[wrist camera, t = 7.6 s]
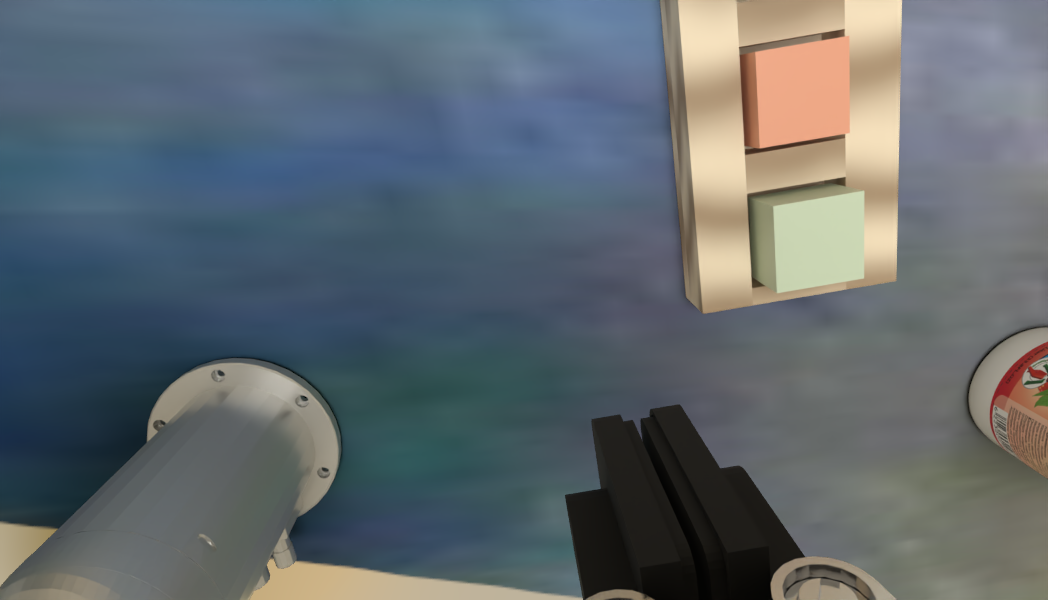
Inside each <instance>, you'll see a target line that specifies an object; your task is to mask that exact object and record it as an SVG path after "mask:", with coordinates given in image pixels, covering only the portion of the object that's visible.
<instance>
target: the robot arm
mask: <svg viewBox="0 0 1048 600" xmlns="http://www.w3.org/2000/svg"><path fill="white" fill-rule="evenodd" d="M220 370H221V371H222V372H223V373H222V372H221V371H220ZM303 396H305V397H307V398H304V397H303ZM592 430H593V437H594V444H595V451H596V458H597V465H598V471H599V478H600V485H601V489H598V490H592V491H586V492H580V493H574V494H568V495H565V498H566V504H567V510H568V516H569V522H570V528H571V534H572V540H573V546H574V552H575V557H576V563H577V569H578V574H579V580H580V585H581V590H582V596H583V600H897V599H896V598H895V597H894V596H893V595H891V594H890V593H889V592H888V591H887V590H886V589H885V588H884V587H883V586H882V585H881V584H880V583H879V582H878V581H877V580H876V579H874V578H873V577H872V576H870V575H869V574H868V573H866V572H865V571H864V570H862V569H860V568H858V567H856V566H854V565H852V564H849V563H847V562H845V561H841V560H837V559H833V558H829V557H813V556H810V557H805V556H804V555H803V553H802V552H801V550H800V549H799V547H798V546H797V545H796V543H795V542H794V540H793V539H792V537H791V536H790V534H789V533H788V532H787V530H786V529H785V527H784V526H783V524H782V523H781V522H780V520H779V519H778V517H777V516H776V514H775V513H774V511H773V510H772V509H771V507H770V506H769V504H768V503H767V501H766V500H765V498H764V497H763V496H762V494H761V493H760V491H759V490H758V488H757V487H756V485H755V484H754V483H753V481H752V480H751V478H750V477H749V475H748V474H747V472H746V471H745V470H744V469H743V468H742V467H741V466H733V467H727V468H721V469H720V467H719V466H718V464H717V462H716V461H715V459H714V458H713V456H712V455H711V453H710V451H709V450H708V448H707V447H706V445H705V443H704V442H703V440H702V439H701V437H700V435H699V434H698V432H697V431H696V429H695V427H694V426H693V424H692V423H691V421H690V420H689V418H688V416H687V415H686V413H685V412H684V410H683V408H682V407H681V406H680V405H673V406H667V407H661V408H655V409H650V417H648V418H642V419H641V432H642V439H641V437H640V435H639V433H638V431H637V428H636V426H635V424H634V422H633V420H630V421H624V422H623V420H622V417H621V415H614V416H608V417H602V418H596V419H592ZM642 441H643V442H642ZM340 457H341V436H340V432H339V428H338V425H337V421H336V419H335V417H334V415H333V413H332V411H331V409H330V407H329V405H328V404H327V403H326V401H325V400H324V399H323V398H322V396H321V395H320V394H319V393H318V391H316V390H315V389H314V388H313V387H312V386H311V385H310V384H309V383H307V382H306V381H305V380H304V379H302V378H301V377H299V376H297V375H296V374H294V373H293V372H291V371H289V370H287V369H285V368H282V367H280V366H277V365H275V364H272V363H269V362H265V361H260V360H255V359H246V358H229V359H221V360H215V361H212V362H208V363H205V364H202V365H199V366H197V367H195V368H193V369H192V370H190V371H188V372H186V373H184V374H183V375H182V376H181V377H179V378H178V379H177V380H176V381H174V382H173V383H172V384H171V385H170V386H169V387H168V388H167V389H166V390H165V391H164V392H163V393H162V395H161V396H160V397H159V399H158V401H157V402H156V404H155V406H154V408H153V409H152V412H151V415H150V418H149V421H148V427H147V443H146V444H145V445H144V446H143V447H142V448H141V449H140V450H139V451H138V452H137V453H136V454H135V455H134V456H133V457H132V458H131V459H129V460H128V461H127V462H126V463H125V464H124V465H123V466H122V467H121V468H120V469H119V470H118V471H117V472H116V473H115V474H114V475H113V476H112V477H111V478H110V479H109V480H108V481H107V482H106V483H105V484H104V485H103V486H102V487H101V488H100V489H99V490H98V491H97V492H96V493H95V494H94V495H93V496H92V497H91V498H89V499H88V500H87V501H86V502H85V503H84V504H83V505H82V506H81V507H80V508H79V509H78V510H77V511H76V512H75V513H74V514H73V515H72V516H71V517H70V518H69V519H68V520H67V521H66V522H65V523H64V524H63V525H62V526H61V527H60V528H59V529H58V530H57V531H56V532H55V533H54V534H53V535H52V536H51V537H50V538H48V539H47V540H46V541H45V542H44V543H43V544H42V545H41V546H40V547H39V548H38V549H37V550H36V551H35V552H34V553H33V554H32V555H31V556H29V557H28V558H27V559H26V560H25V561H24V562H23V563H22V564H21V565H20V566H19V567H18V568H17V569H16V570H15V571H14V572H13V573H12V574H11V575H10V576H9V577H8V578H7V580H6V581H5V582H4V583H3V584H2V585H1V586H0V600H250V598H251V596H252V594H253V592H254V591H255V590H257V589H260V588H261V587H262V586H264V585H265V584H266V583H267V582H268V580H269V579H270V573H269V571H268V568H267V563H268V561H269V559H270V557H271V555H273V558H274V561H275V563H276V566H277V567H278V568H286V567H289V566H291V565H292V564H294V562H295V561H296V560H297V556H296V553H295V550H294V547H293V544H292V542H291V541H290V538H289V534H290V531H291V529H292V527H293V525H294V523H295V521H296V519H297V517H299V516H301V515H303V514H305V513H306V512H307V511H309V510H310V509H311V508H313V507H314V506H315V505H316V504H317V503H318V502H319V501H320V500H321V499H322V498H323V496H324V495H325V494H326V493H327V491H328V489H329V488H330V486H331V484H332V482H333V480H334V478H335V475H336V472H337V470H338V467H339V463H340Z"/></svg>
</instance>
